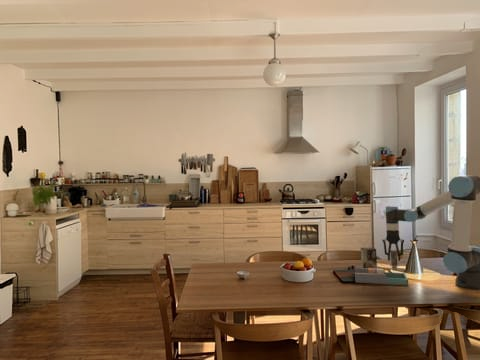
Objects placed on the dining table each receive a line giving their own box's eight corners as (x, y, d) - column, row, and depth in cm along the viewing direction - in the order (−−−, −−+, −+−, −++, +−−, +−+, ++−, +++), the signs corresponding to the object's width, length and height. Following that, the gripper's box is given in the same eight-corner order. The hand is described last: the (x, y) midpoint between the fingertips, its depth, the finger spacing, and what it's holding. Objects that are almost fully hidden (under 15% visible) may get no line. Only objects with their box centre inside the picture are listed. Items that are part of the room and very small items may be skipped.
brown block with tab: (396, 267, 238) (395, 249, 238) (398, 270, 231) (397, 251, 231) (390, 267, 239) (390, 249, 239) (392, 270, 232) (391, 251, 232)
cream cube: (383, 275, 226) (383, 268, 226) (384, 276, 222) (383, 270, 222) (376, 274, 227) (376, 268, 227) (377, 276, 224) (376, 270, 224)
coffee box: (374, 270, 248) (374, 247, 247) (377, 273, 241) (376, 249, 241) (361, 270, 249) (360, 247, 248) (363, 273, 242) (362, 249, 242)
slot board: (384, 277, 231) (384, 269, 231) (386, 284, 217) (386, 275, 217) (355, 276, 236) (354, 267, 236) (355, 282, 223) (355, 273, 223)
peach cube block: (375, 274, 228) (374, 268, 228) (375, 276, 224) (375, 269, 224) (368, 274, 229) (368, 267, 229) (368, 275, 225) (368, 269, 225)
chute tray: (405, 278, 227) (405, 273, 227) (408, 285, 214) (408, 279, 214) (384, 277, 231) (384, 272, 231) (386, 284, 217) (386, 278, 217)
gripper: (405, 228, 236) (407, 264, 236) (378, 228, 241) (380, 263, 241) (407, 230, 229) (409, 267, 229) (379, 230, 234) (381, 266, 234)
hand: (394, 265), depth 235 cm, fingers closed on brown block with tab, 3 cm apart
